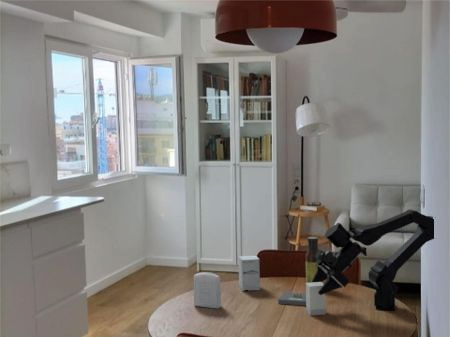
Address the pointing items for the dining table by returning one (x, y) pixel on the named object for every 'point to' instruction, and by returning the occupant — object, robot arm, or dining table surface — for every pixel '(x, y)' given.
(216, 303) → the white arched block
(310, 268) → the sauce bottle
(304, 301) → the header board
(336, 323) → the dining table surface
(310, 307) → the white rectangular block
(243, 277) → the supplement box
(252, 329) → the dining table surface
